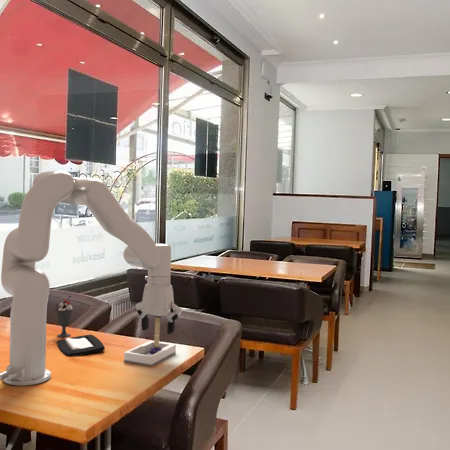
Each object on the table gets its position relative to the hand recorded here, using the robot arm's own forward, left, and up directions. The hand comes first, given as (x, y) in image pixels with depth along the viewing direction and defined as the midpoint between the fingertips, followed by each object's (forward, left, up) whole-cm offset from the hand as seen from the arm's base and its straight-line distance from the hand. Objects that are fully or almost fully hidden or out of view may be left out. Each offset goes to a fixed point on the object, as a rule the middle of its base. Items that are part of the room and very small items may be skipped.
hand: (157, 331), depth 174 cm
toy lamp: (0, 0, -7) cm, 7 cm away
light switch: (-5, +27, -8) cm, 29 cm away
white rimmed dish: (-4, 0, -8) cm, 9 cm away
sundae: (+4, +42, -8) cm, 43 cm away
